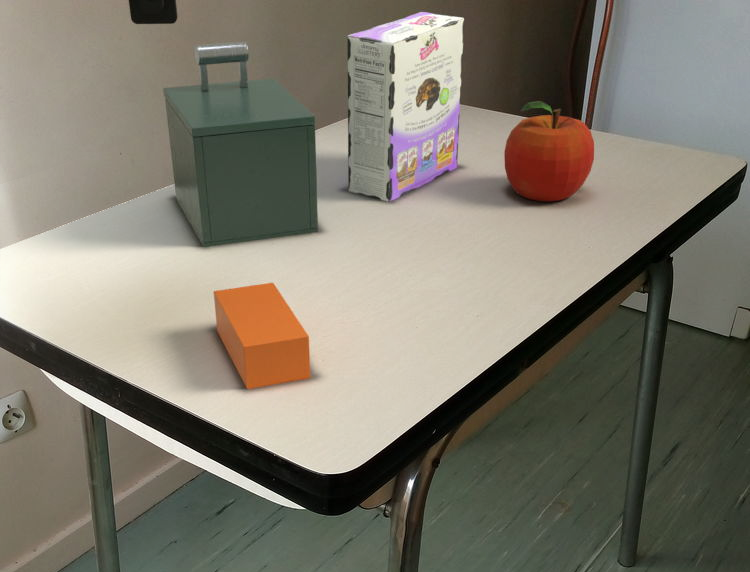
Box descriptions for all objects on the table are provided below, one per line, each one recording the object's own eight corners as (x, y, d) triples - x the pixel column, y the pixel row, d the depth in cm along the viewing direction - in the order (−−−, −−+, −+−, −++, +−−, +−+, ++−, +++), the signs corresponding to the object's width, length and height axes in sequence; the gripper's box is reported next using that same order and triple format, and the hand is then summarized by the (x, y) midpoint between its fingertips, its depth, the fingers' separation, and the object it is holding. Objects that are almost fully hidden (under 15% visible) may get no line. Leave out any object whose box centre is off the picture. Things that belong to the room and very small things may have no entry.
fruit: (597, 212, 106) (610, 114, 100) (507, 212, 106) (515, 115, 100) (579, 180, 114) (591, 88, 108) (495, 181, 114) (502, 88, 108)
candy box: (416, 161, 119) (421, 9, 109) (458, 171, 116) (467, 16, 106) (345, 194, 110) (344, 32, 100) (389, 206, 107) (392, 40, 97)
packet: (247, 393, 76) (243, 346, 74) (217, 335, 84) (213, 290, 81) (310, 382, 77) (309, 336, 75) (275, 326, 85) (273, 282, 83)
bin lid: (163, 96, 102) (157, 42, 99) (274, 86, 105) (272, 34, 102) (192, 137, 91) (187, 79, 88) (315, 124, 94) (313, 68, 91)
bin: (176, 202, 108) (164, 97, 101) (281, 190, 111) (276, 87, 104) (204, 251, 97) (192, 137, 91) (318, 235, 101) (315, 125, 94)
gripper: (92, -280, 71) (127, -14, 82) (43, -285, 58) (92, 36, 68) (198, -280, 72) (220, -15, 82) (174, -285, 58) (204, 34, 68)
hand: (162, 8), depth 75 cm, fingers open, 9 cm apart
